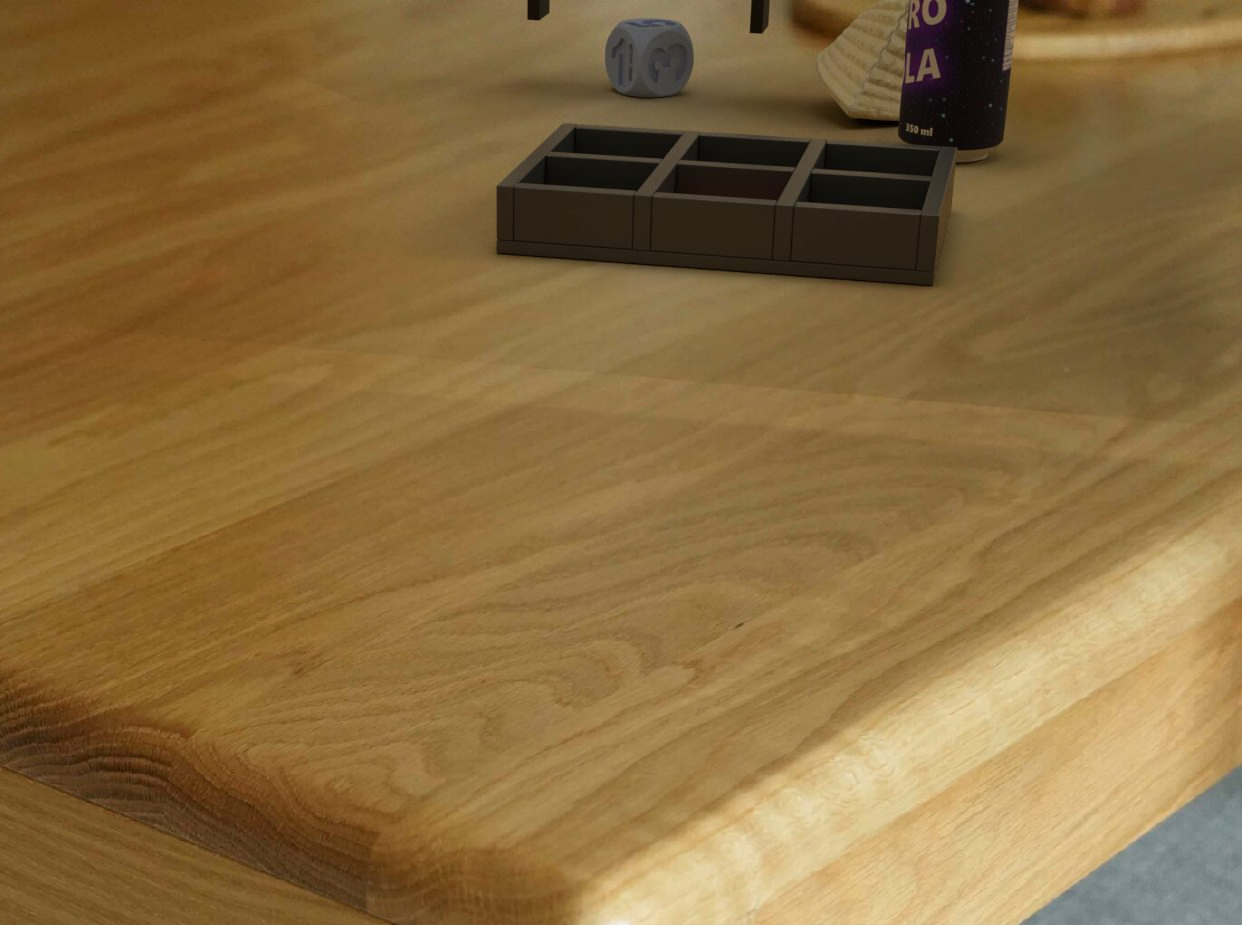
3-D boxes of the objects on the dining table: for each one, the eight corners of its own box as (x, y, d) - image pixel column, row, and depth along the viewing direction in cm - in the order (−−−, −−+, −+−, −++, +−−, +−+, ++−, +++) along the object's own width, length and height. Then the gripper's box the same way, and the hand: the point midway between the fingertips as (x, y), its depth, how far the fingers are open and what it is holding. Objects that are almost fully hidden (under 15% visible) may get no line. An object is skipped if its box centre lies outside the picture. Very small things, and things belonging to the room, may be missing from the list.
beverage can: (925, 137, 116) (945, -89, 111) (1018, 151, 113) (1044, -80, 108) (878, 155, 112) (896, -78, 107) (973, 171, 109) (998, -69, 104)
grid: (951, 210, 102) (957, 147, 100) (932, 285, 90) (939, 215, 89) (561, 183, 106) (562, 122, 104) (496, 253, 94) (496, 185, 93)
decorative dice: (603, 88, 127) (604, 20, 125) (657, 82, 129) (659, 16, 127) (638, 100, 124) (640, 31, 122) (693, 93, 126) (696, 26, 124)
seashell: (981, 63, 124) (986, 13, 116) (907, 184, 124) (906, 143, 116) (865, 0, 125) (862, -53, 117) (792, 120, 126) (783, 76, 118)
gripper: (427, -375, 114) (432, 21, 124) (879, -364, 110) (847, 46, 119) (463, -376, 121) (465, 1, 131) (891, -366, 116) (859, 24, 126)
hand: (647, 23), depth 125 cm, fingers open, 13 cm apart
